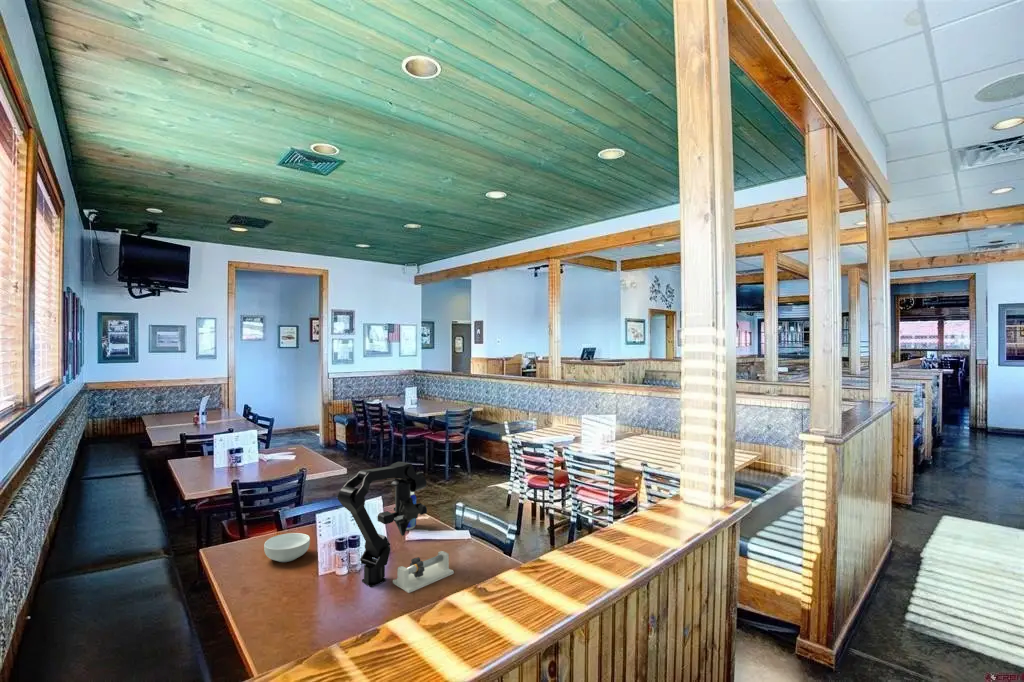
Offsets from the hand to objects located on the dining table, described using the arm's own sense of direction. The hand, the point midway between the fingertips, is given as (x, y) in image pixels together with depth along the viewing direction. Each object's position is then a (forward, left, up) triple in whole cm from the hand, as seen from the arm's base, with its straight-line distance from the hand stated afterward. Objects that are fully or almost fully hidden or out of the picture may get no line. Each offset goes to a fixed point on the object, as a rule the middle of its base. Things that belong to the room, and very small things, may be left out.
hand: (402, 535), depth 191 cm
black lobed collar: (-3, -14, -10) cm, 17 cm away
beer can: (+24, +32, -12) cm, 42 cm away
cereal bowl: (-28, +39, -12) cm, 50 cm away
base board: (0, -14, -12) cm, 18 cm away
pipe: (0, -14, -8) cm, 16 cm away
